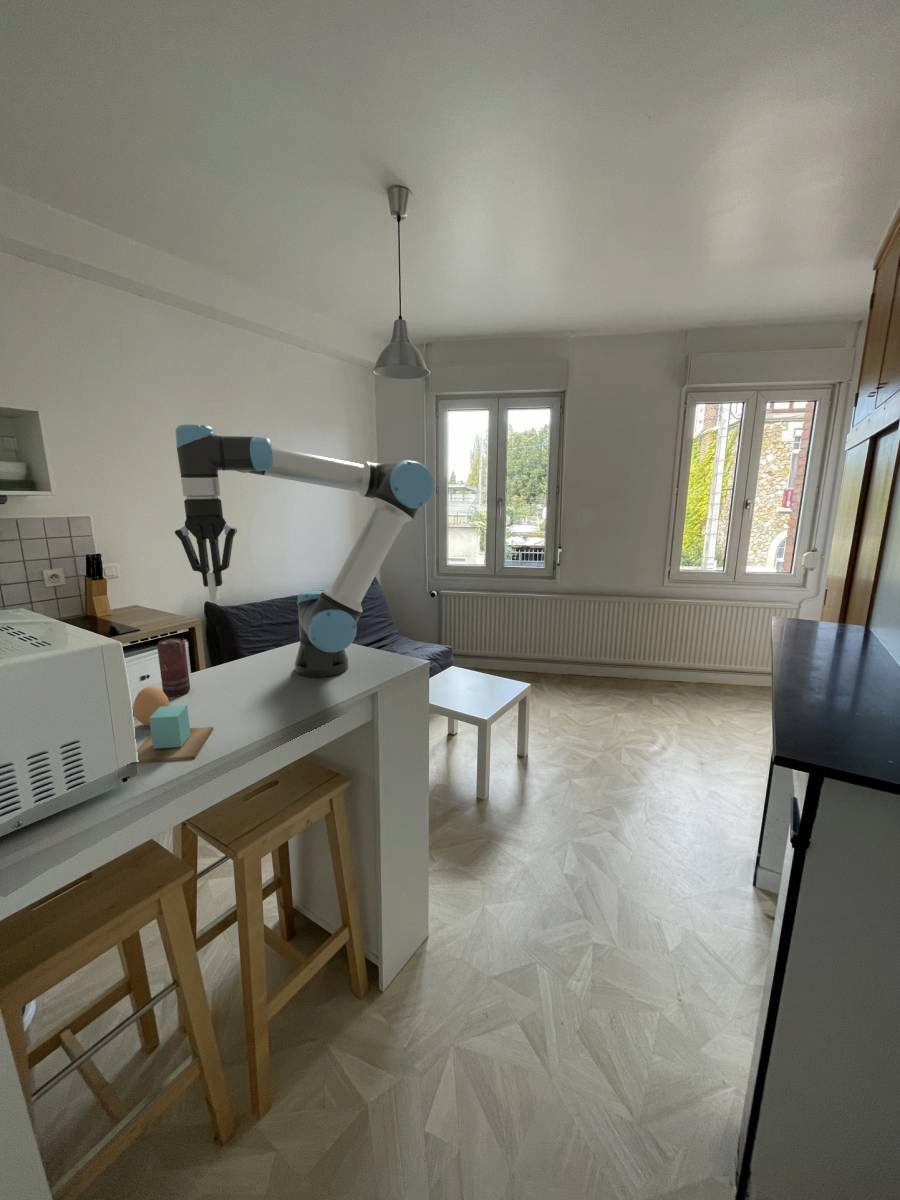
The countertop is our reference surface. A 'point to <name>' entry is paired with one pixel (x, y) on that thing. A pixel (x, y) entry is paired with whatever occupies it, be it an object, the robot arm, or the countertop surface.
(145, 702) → the egg
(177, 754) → the base board
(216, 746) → the countertop surface
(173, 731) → the turquoise block
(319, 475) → the robot arm
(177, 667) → the can
